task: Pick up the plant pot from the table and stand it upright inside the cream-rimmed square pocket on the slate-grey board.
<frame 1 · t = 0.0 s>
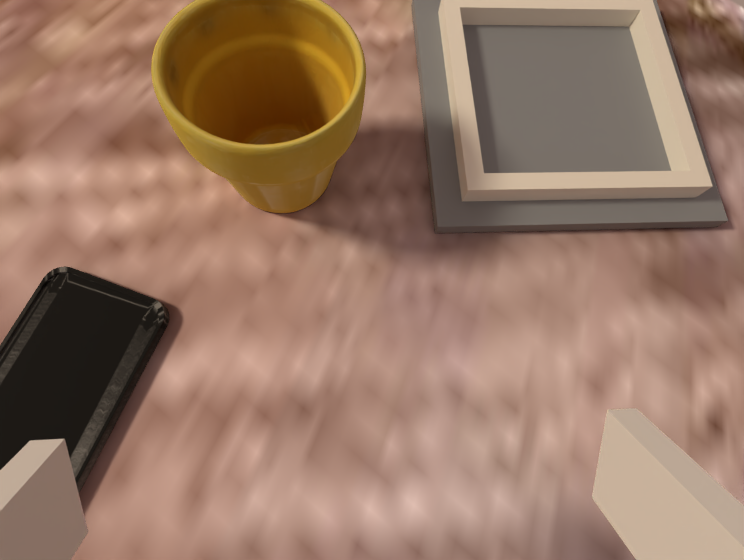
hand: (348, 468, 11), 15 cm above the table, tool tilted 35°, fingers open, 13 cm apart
plant pot: (284, 171, 31), on the table
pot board: (553, 108, 34), on the table
phone: (54, 405, 26), on the table
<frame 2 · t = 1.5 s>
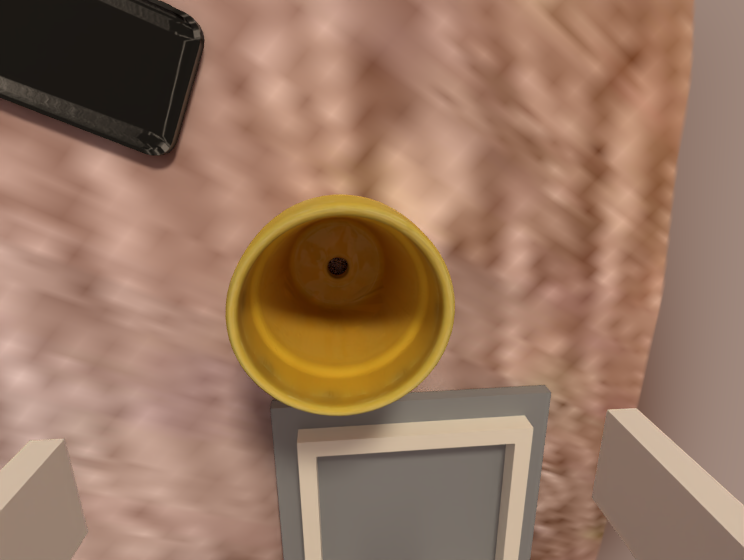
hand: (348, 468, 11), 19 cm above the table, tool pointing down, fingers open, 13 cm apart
plant pot: (338, 260, 30), on the table
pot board: (409, 503, 36), on the table
phone: (56, 38, 25), on the table
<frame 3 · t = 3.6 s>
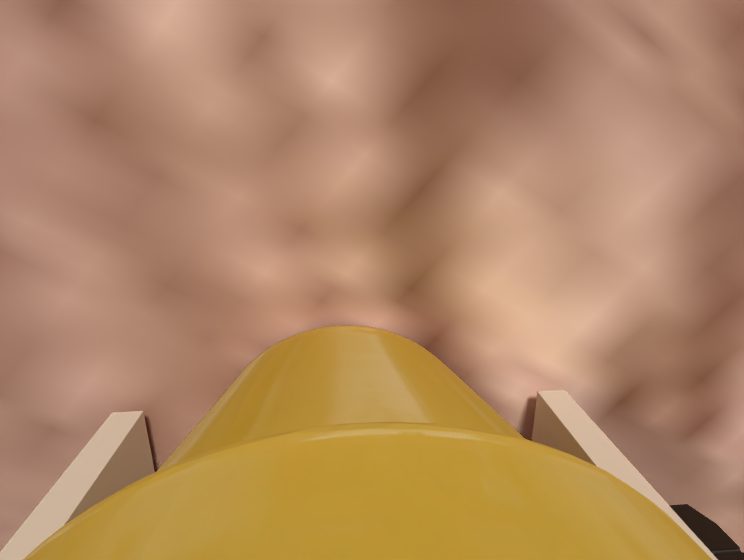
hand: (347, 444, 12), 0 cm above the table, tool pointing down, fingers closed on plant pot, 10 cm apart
plant pot: (348, 432, 13), on the table, touching gripper
when the fingers open (3 cm above the table, at t = 10.2 s): plant pot drops 1 cm, resting on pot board.
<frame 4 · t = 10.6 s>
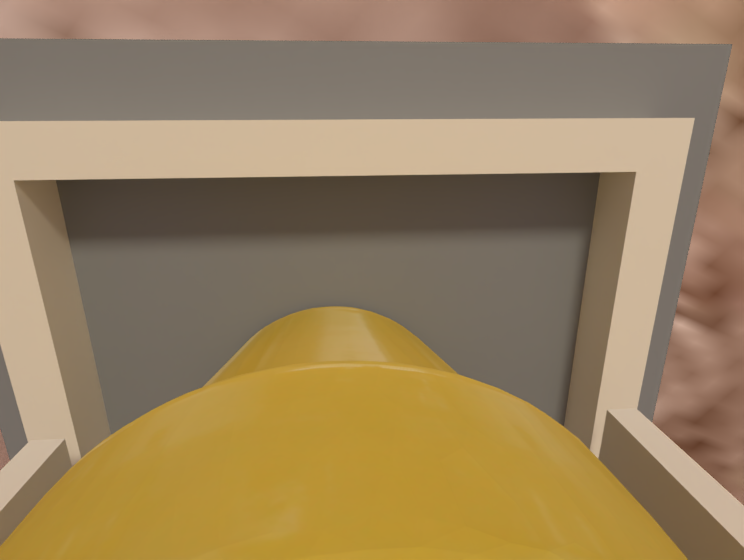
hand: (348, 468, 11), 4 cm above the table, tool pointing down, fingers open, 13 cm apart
plant pot: (337, 404, 14), point 1 cm above the table, touching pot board
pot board: (345, 389, 15), on the table
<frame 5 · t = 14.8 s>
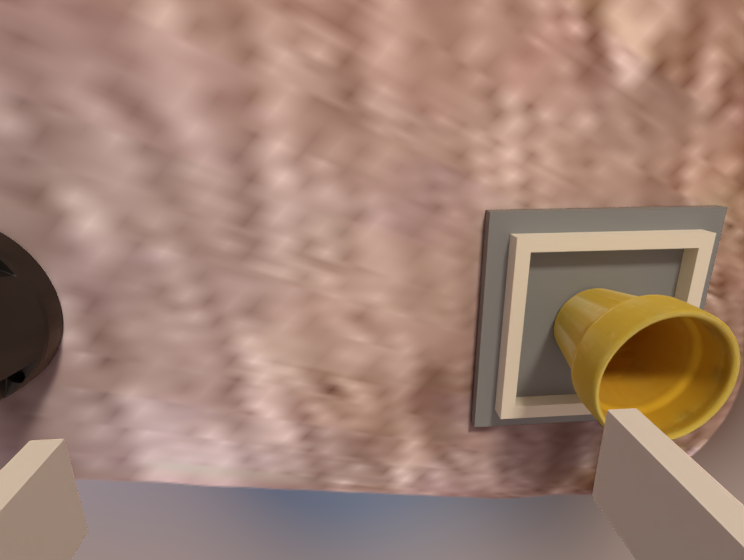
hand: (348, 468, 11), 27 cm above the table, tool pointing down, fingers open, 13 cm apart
plant pot: (589, 323, 40), point 1 cm above the table, touching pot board
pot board: (587, 319, 41), on the table
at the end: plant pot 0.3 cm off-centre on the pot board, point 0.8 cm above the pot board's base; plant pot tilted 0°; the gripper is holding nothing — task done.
